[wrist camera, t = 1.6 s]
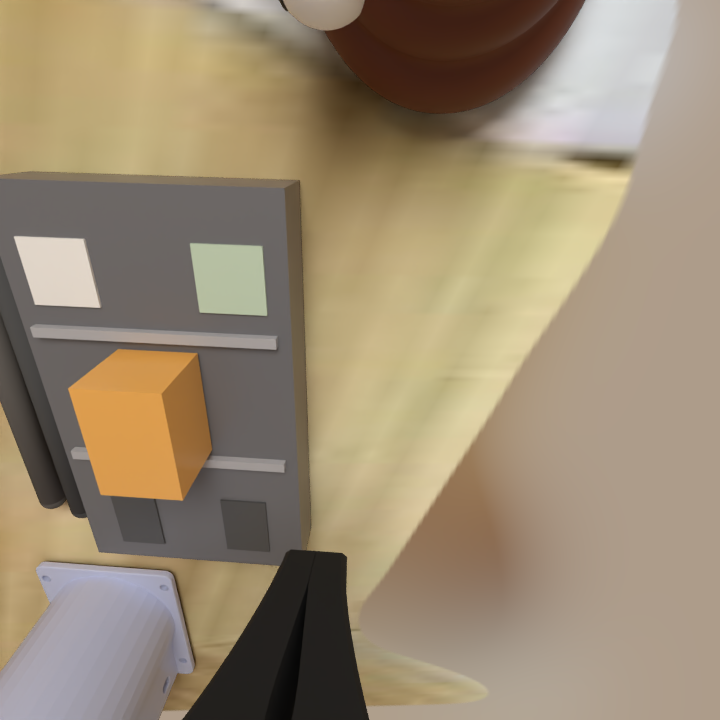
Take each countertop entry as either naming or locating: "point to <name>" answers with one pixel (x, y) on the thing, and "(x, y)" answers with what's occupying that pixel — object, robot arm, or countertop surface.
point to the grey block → (175, 340)
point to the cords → (32, 412)
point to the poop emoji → (440, 45)
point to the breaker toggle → (144, 423)
